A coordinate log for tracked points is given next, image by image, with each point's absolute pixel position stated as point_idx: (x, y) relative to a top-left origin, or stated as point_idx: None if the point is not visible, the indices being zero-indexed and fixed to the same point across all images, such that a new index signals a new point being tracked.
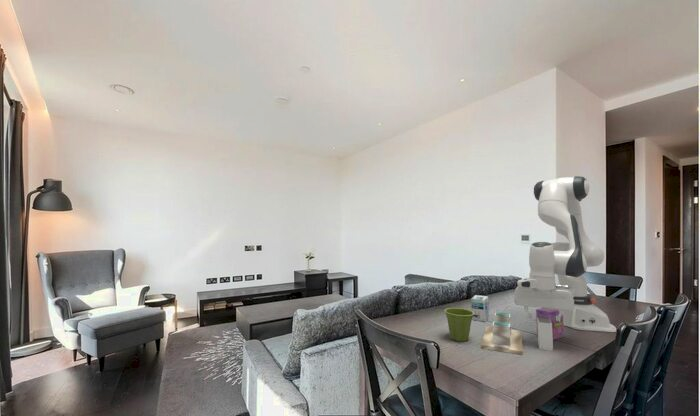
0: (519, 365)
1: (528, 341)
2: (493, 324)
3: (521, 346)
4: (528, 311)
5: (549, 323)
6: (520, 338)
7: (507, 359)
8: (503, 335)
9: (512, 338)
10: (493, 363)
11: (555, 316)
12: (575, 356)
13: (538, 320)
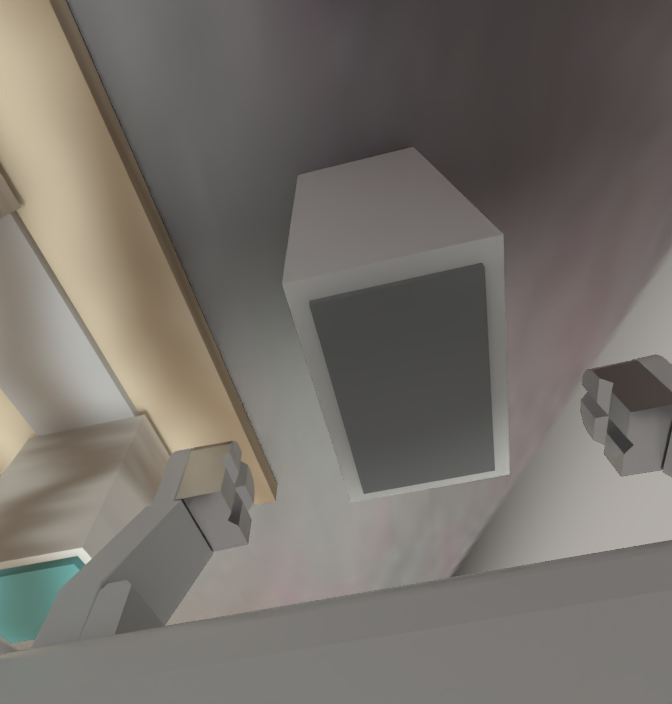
0: (303, 583)
1: (213, 189)
2: (10, 634)
3: (240, 435)
4: (170, 527)
5: (480, 474)
6: (153, 257)
7: (237, 563)
8: None
9: (103, 306)
10: (210, 616)
11: (623, 431)
12: (577, 318)
13: (338, 429)
